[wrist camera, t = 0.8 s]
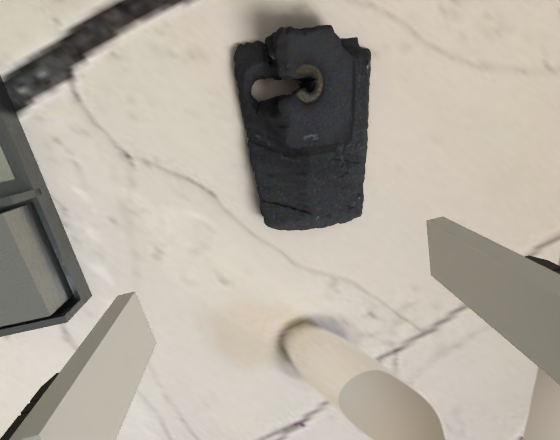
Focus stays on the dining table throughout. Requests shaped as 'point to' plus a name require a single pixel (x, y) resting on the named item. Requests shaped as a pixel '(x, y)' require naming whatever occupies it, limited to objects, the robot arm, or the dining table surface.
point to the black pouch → (307, 126)
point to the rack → (31, 240)
